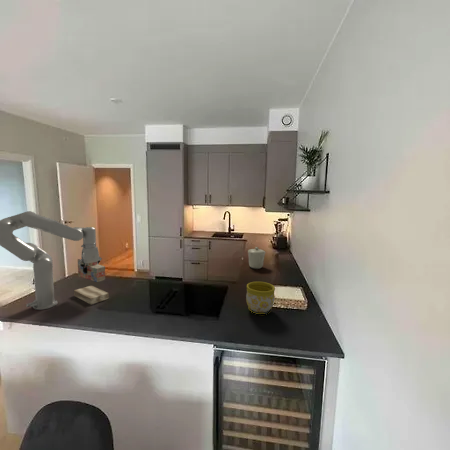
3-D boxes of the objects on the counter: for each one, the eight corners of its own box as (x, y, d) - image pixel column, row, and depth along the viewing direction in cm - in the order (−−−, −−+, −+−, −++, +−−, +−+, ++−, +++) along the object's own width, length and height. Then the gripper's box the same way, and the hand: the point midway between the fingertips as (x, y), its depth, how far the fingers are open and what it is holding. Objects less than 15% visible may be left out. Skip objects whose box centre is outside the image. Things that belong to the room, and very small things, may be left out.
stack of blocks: (105, 279, 171) (105, 261, 170) (96, 282, 166) (96, 264, 164) (86, 273, 182) (86, 256, 180) (78, 276, 177) (77, 258, 175)
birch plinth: (91, 304, 165) (91, 298, 165) (74, 295, 177) (73, 290, 177) (108, 298, 175) (108, 293, 174) (91, 290, 187) (91, 285, 187)
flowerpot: (253, 319, 154) (255, 293, 152) (240, 306, 170) (241, 282, 168) (279, 315, 161) (280, 289, 158) (264, 303, 177) (265, 280, 175)
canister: (257, 271, 249) (259, 249, 246) (243, 267, 261) (244, 246, 258) (268, 267, 262) (269, 247, 259) (253, 263, 274) (254, 244, 271)
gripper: (79, 248, 162) (80, 276, 165) (105, 244, 177) (105, 269, 179) (73, 247, 167) (74, 273, 169) (99, 243, 181) (99, 267, 183)
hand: (90, 271), depth 174 cm, fingers closed on stack of blocks, 6 cm apart
